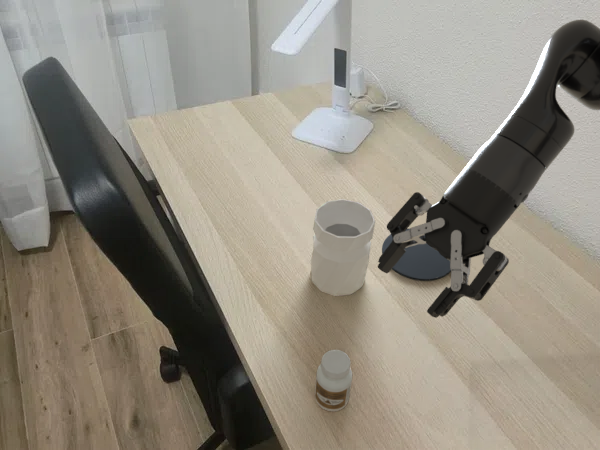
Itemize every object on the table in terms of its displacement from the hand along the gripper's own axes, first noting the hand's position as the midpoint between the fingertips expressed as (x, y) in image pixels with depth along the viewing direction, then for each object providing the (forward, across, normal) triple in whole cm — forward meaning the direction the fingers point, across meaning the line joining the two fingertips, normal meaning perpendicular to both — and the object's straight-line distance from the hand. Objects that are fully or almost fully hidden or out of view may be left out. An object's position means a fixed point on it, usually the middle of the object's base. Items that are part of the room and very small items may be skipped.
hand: (406, 292), depth 66 cm
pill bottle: (+17, 0, +2) cm, 17 cm away
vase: (+7, -16, +12) cm, 21 cm away
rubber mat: (-3, -13, +22) cm, 26 cm away
